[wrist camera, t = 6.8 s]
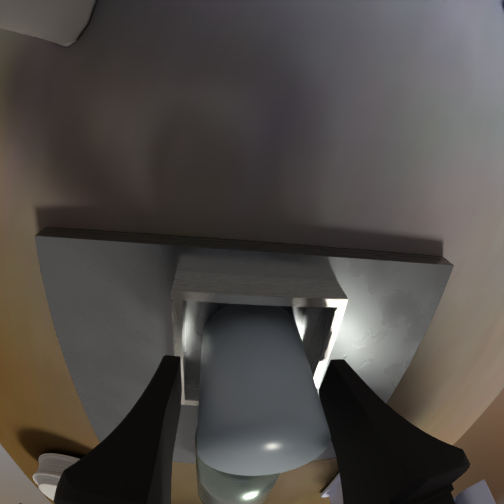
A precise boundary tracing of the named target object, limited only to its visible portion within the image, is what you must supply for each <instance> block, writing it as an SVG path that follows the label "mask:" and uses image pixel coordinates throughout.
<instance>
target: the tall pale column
mask: <svg viewBox="0 0 504 504" xmlns="http://www.w3.org/2000/svg"><path fill="white" fill-rule="evenodd" d="M96 2H97V0H0V29H5V30H9V31H13V32H17V33H21V34H25V35H29V36H33V37H37V38H41V39H44V40H47V41H51V42H54V43H57V44H60V45H62V46H66V47H68V46H69V45H71V44H72V43H74V42H75V41H77V40H78V39H79V37H80V36H81V35H82V33H83V32H84V30H85V29H86V28H87V26H88V25H89V23H90V20H91V17H92V14H93V11H94V8H95V5H96Z"/></svg>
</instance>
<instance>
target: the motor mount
mask: <svg viewBox="0 0 504 504" xmlns="http://www.w3.org/2000/svg"><path fill="white" fill-rule="evenodd" d="M35 240H36V247H37V253H38V258H39V264H40V269H41V274H42V279H43V283H44V288H45V292H46V296H47V300H48V304H49V308H50V312H51V316H52V319H53V323H54V326H55V330H56V333H57V337H58V340H59V343H60V346H61V349H62V352H63V355H64V358H65V361H66V364H67V367H68V369H69V372H70V375H71V378H72V380H73V383H74V385H75V388H76V390H77V393H78V395H79V398H80V400H81V403H82V405H83V407H84V410H85V412H86V414H87V416H88V419H89V421H90V423H91V425H92V427H93V429H94V431H95V433H96V435H97V437H98V439H99V441H100V443H101V442H102V441H103V440H104V439H105V438H106V437H107V436H108V435H109V434H110V433H111V432H112V431H113V430H114V429H115V428H116V427H117V426H118V425H119V424H120V422H121V421H122V420H123V419H124V418H125V417H126V415H127V414H128V413H129V412H130V410H131V409H132V408H133V406H134V405H135V404H136V402H137V401H138V399H139V398H140V397H141V395H142V394H143V392H144V391H145V389H146V387H147V386H148V384H149V383H150V381H151V379H152V377H153V376H154V374H155V372H156V370H157V368H158V366H159V364H160V362H161V360H162V357H163V356H165V355H170V356H180V358H181V380H182V396H181V411H180V417H179V422H178V428H177V434H176V440H175V446H174V452H173V459H172V461H174V462H185V463H196V471H197V486H198V495H199V497H200V500H201V501H202V503H203V504H264V503H265V501H266V499H267V497H268V495H269V494H270V492H271V490H272V488H273V486H274V484H275V482H276V480H277V478H278V476H279V474H280V473H277V474H270V475H261V476H244V475H235V474H229V473H225V472H222V471H219V470H216V469H214V468H212V467H210V466H208V465H207V464H205V463H204V462H203V461H202V460H201V459H200V457H199V456H198V453H197V431H198V405H199V385H200V366H201V350H202V335H203V330H204V328H205V325H206V324H207V322H208V320H209V319H210V318H211V317H212V316H213V315H214V314H215V313H216V312H218V311H219V310H220V309H222V308H224V307H226V306H228V305H230V304H248V305H270V306H280V307H282V308H284V309H285V310H286V311H287V312H289V313H290V314H291V316H292V317H293V318H294V320H295V322H296V324H297V327H298V330H299V333H300V336H301V340H302V343H303V346H304V349H305V352H306V355H307V359H308V362H309V365H310V368H311V371H312V375H313V378H314V381H315V384H316V388H317V391H318V394H319V388H320V386H321V383H322V381H323V378H324V375H325V373H326V370H327V368H328V365H329V362H330V360H333V359H344V360H345V361H346V362H347V363H348V364H349V365H350V367H351V368H352V369H353V370H354V371H355V372H356V373H357V374H358V375H359V377H360V378H361V379H362V380H363V381H364V382H365V383H366V384H367V385H368V386H369V387H370V388H371V389H372V390H373V391H374V392H375V393H376V394H377V395H378V396H379V397H380V398H381V399H382V400H383V401H384V402H385V403H386V404H387V402H388V400H389V399H390V397H391V395H392V394H393V392H394V390H395V389H396V387H397V385H398V384H399V382H400V380H401V378H402V377H403V375H404V373H405V371H406V369H407V368H408V366H409V364H410V362H411V360H412V358H413V356H414V354H415V353H416V351H417V349H418V347H419V345H420V343H421V341H422V339H423V337H424V335H425V333H426V330H427V328H428V326H429V324H430V322H431V320H432V317H433V315H434V313H435V311H436V309H437V306H438V304H439V302H440V299H441V297H442V294H443V292H444V289H445V287H446V284H447V282H448V279H449V277H450V274H451V271H452V269H453V266H454V265H452V264H451V263H450V262H449V261H448V260H446V259H445V258H444V257H437V256H426V255H415V254H403V253H392V252H380V251H369V250H357V249H345V248H332V247H320V246H308V245H295V244H282V243H269V242H256V241H242V240H229V239H215V238H201V237H187V236H172V235H157V234H142V233H127V232H111V231H95V230H79V229H62V228H44V229H43V230H41V231H40V232H39V233H38V234H36V235H35ZM329 458H336V454H335V450H334V447H333V444H332V441H331V440H330V443H329V445H328V447H327V448H326V450H325V451H324V452H323V453H322V454H321V455H320V456H318V457H317V458H315V459H314V460H321V459H329ZM312 461H313V460H312Z"/></svg>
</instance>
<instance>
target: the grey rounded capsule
mask: <svg viewBox="0 0 504 504" xmlns="http://www.w3.org/2000/svg"><path fill="white" fill-rule="evenodd" d="M330 440H331V435H330V431H329V427H328V424H327V421H326V417H325V414H324V411H323V407H322V404H321V401H320V397H319V394H318V391H317V388H316V384H315V381H314V378H313V375H312V371H311V368H310V365H309V362H308V359H307V355H306V352H305V349H304V346H303V343H302V340H301V336H300V333H299V330H298V327H297V324H296V322H295V320H294V318H293V317H292V316H291V314H290V313H289V312H287V311H286V310H285V309H284V308H282V307H280V306H270V305H248V304H230V305H228V306H226V307H224V308H222V309H220V310H219V311H218V312H216V313H215V314H214V315H213V316H212V317H211V318H210V319H209V320H208V322H207V324H206V325H205V328H204V330H203V335H202V350H201V366H200V385H199V405H198V431H197V453H198V456H199V457H200V459H201V460H202V461H203V462H204V463H205V464H207V465H208V466H210V467H212V468H214V469H216V470H219V471H222V472H225V473H229V474H235V475H244V476H261V475H270V474H277V473H281V472H285V471H289V470H292V469H295V468H298V467H300V466H303V465H305V464H307V463H309V462H311V461H312V460H314V459H315V458H317V457H318V456H320V455H321V454H322V453H323V452H324V451H325V450H326V448H327V447H328V445H329V443H330Z"/></svg>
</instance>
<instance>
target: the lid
mask: <svg viewBox="0 0 504 504" xmlns="http://www.w3.org/2000/svg"><path fill="white" fill-rule="evenodd" d="M78 460H80V459H79V458H75V457H71V456H67V455H62V454H56V453H45V454H42V455H40V457H39V459H38V462H39V464H40V465H39V468H38V471H37V472H35V473H34V475H33V479H34V481H35V482H36V483H37V485H38V487H39V489H40V490H41V491H42V493H44V494H45V495H46V496H47V497H49V498H50V499H52V500H53V501H54V496H55V492H56V488H57V484H58V482H59V480H60V477H61V475H62V473H63V471H64V470H65V469H67V468H68V467H70V466H71V465H73V464H74V463H76V462H77V461H78Z"/></svg>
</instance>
